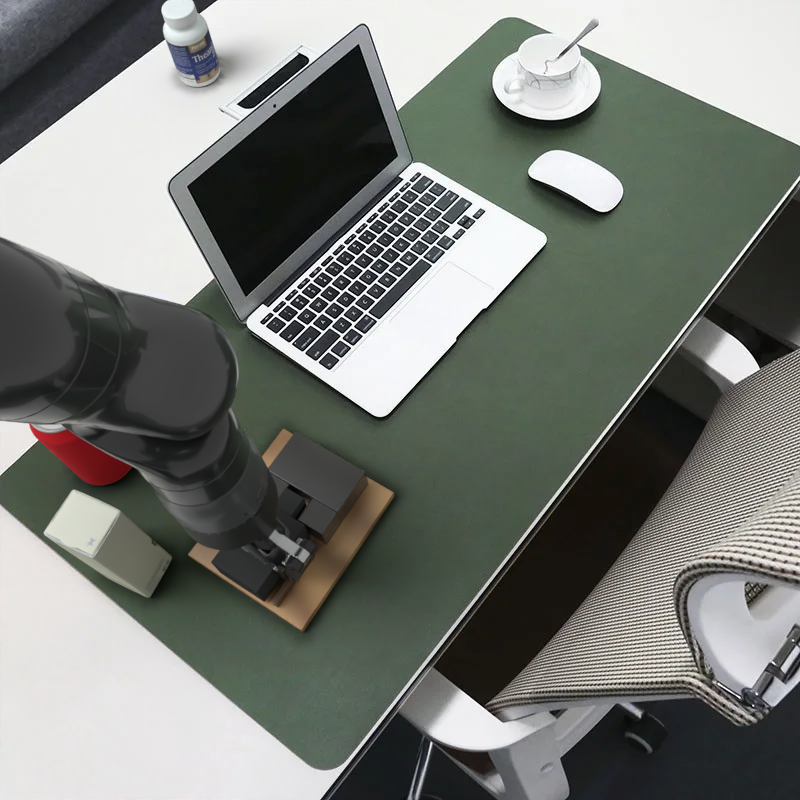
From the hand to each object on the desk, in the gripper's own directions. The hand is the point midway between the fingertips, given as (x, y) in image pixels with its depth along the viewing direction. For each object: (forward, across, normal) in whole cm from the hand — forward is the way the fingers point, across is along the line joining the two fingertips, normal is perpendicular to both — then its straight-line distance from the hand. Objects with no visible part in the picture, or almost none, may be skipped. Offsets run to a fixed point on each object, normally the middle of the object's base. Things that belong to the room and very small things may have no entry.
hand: (263, 552), depth 75 cm
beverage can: (+3, -20, 0) cm, 20 cm away
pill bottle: (+3, -46, +47) cm, 66 cm away
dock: (+3, 0, +4) cm, 5 cm away
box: (+3, -10, -7) cm, 13 cm away
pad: (+1, 0, 0) cm, 1 cm away
